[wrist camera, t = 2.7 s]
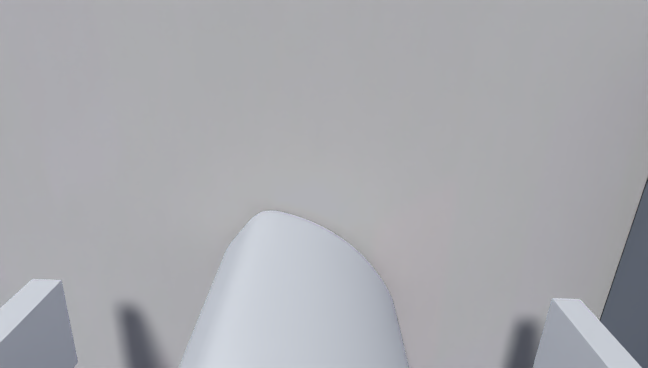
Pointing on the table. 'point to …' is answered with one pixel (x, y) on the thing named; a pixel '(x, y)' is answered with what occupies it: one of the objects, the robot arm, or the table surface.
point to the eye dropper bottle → (295, 303)
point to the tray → (631, 291)
